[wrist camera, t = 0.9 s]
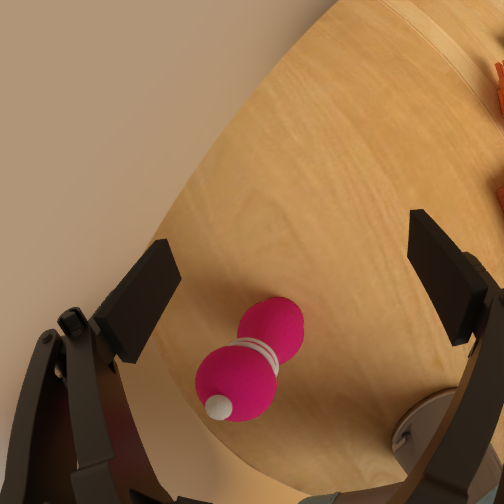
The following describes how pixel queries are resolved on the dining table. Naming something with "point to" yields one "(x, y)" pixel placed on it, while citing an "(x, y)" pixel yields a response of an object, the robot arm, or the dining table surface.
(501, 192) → the terracotta tray
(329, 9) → the dining table surface
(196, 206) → the dining table surface
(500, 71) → the orange toy bird
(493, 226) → the dining table surface
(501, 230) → the dining table surface
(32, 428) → the robot arm
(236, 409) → the pepper mill
